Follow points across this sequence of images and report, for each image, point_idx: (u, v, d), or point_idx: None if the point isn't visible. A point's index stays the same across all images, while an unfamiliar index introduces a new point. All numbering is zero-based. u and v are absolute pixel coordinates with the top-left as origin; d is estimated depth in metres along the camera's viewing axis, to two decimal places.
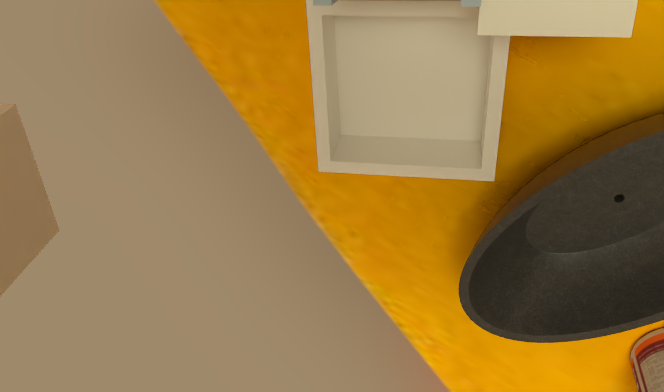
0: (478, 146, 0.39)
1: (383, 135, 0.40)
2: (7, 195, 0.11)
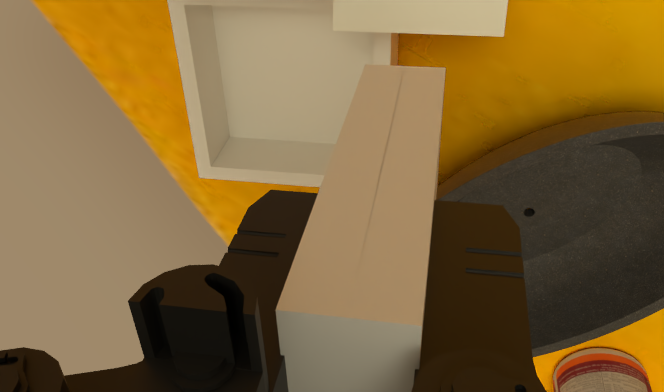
0: None
1: (276, 138, 0.37)
2: None
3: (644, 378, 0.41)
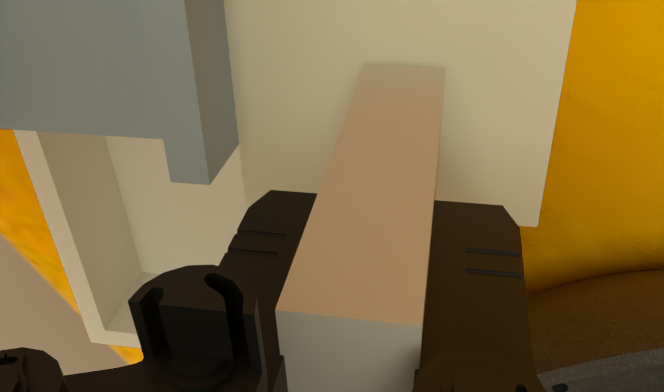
0: None
1: None
2: None
3: None
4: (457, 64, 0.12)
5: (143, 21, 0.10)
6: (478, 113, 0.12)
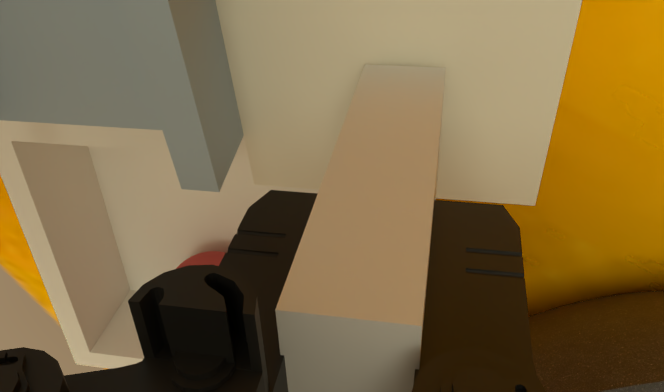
0: None
1: None
2: None
3: None
4: (457, 67, 0.12)
5: (139, 56, 0.10)
6: (478, 110, 0.12)
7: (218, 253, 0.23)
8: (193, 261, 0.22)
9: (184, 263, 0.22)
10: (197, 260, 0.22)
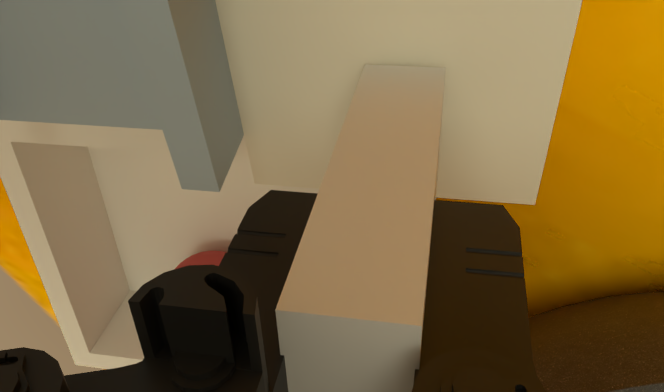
0: None
1: None
2: None
3: None
4: (457, 67, 0.12)
5: (139, 57, 0.10)
6: (478, 110, 0.12)
7: (218, 252, 0.23)
8: (193, 260, 0.22)
9: (184, 261, 0.22)
10: (197, 259, 0.22)
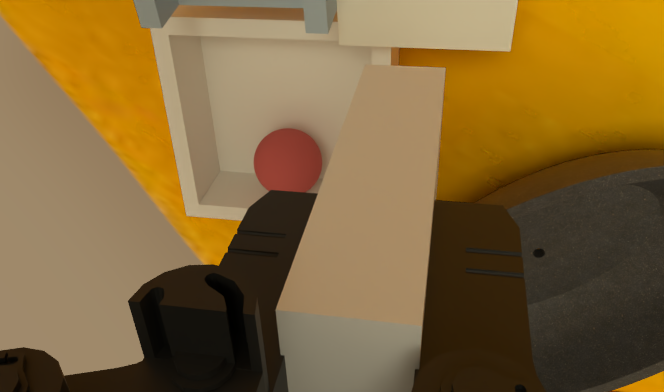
0: None
1: None
2: None
3: None
4: None
5: None
6: None
7: None
8: (276, 131, 0.31)
9: (270, 133, 0.32)
10: (279, 130, 0.31)
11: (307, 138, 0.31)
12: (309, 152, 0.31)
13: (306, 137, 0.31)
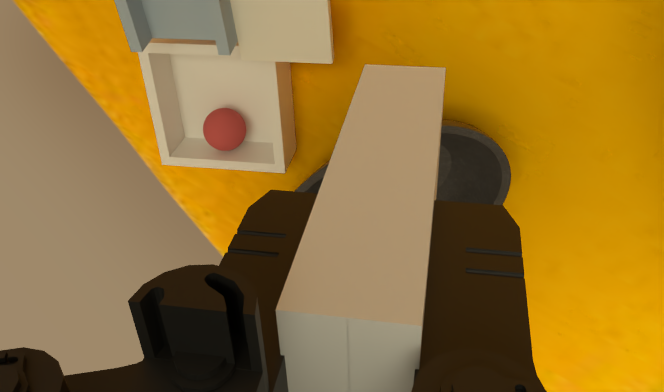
0: None
1: None
2: None
3: None
4: (299, 16, 0.40)
5: (209, 11, 0.39)
6: (307, 30, 0.41)
7: (228, 108, 0.51)
8: (217, 109, 0.51)
9: (213, 111, 0.51)
10: (219, 108, 0.51)
11: (235, 113, 0.50)
12: (236, 122, 0.50)
13: (235, 112, 0.51)
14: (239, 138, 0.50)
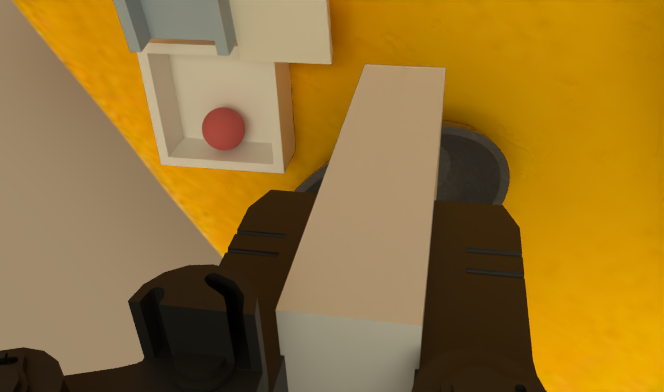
0: None
1: None
2: None
3: None
4: (298, 16, 0.40)
5: (208, 12, 0.39)
6: (306, 30, 0.41)
7: None
8: (216, 108, 0.51)
9: (212, 110, 0.51)
10: (218, 108, 0.51)
11: (234, 113, 0.50)
12: (235, 121, 0.50)
13: (234, 112, 0.51)
14: (238, 137, 0.50)
